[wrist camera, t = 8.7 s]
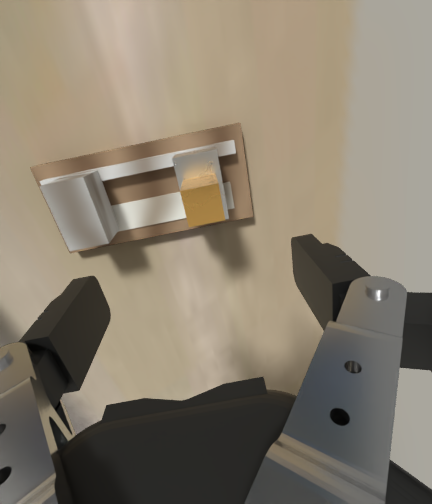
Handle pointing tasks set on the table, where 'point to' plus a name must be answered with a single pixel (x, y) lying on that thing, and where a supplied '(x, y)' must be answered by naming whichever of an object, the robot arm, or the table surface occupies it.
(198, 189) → the block
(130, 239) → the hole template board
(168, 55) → the table surface
